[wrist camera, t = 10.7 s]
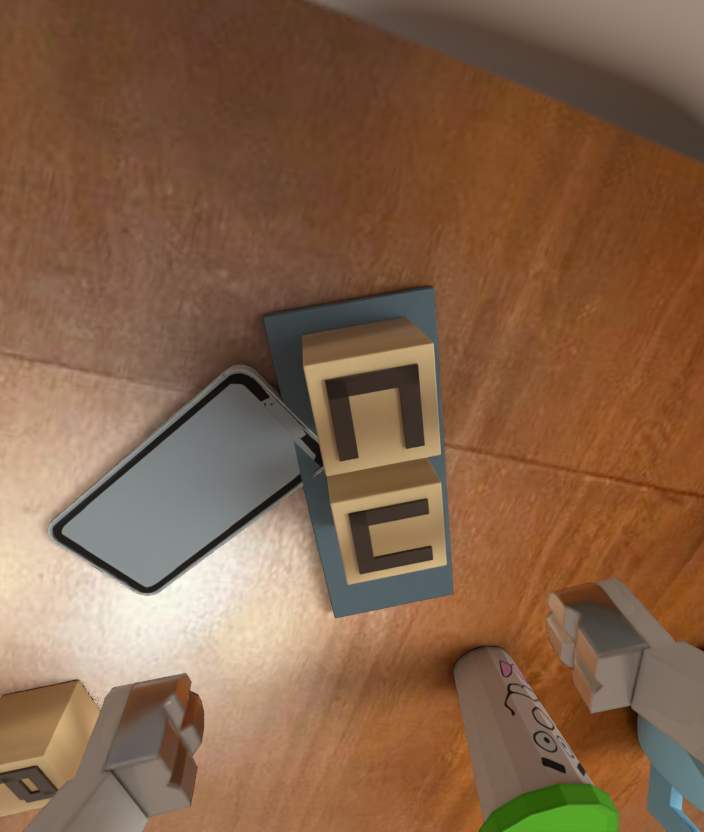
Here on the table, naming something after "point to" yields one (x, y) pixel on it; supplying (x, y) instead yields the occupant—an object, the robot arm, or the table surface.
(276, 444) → the smartphone
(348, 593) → the mat
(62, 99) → the table surface
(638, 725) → the teapot
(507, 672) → the cup
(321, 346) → the tile
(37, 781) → the tile
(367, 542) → the tile
